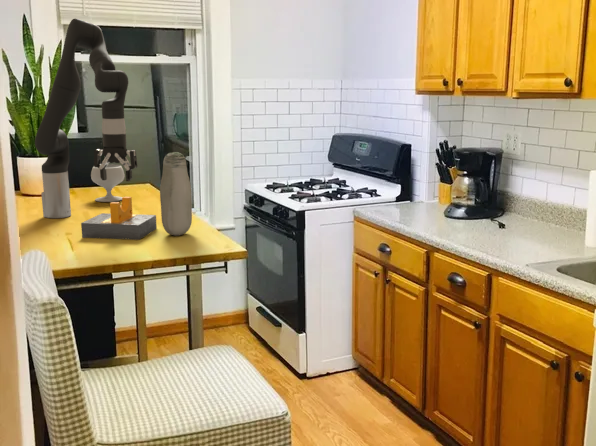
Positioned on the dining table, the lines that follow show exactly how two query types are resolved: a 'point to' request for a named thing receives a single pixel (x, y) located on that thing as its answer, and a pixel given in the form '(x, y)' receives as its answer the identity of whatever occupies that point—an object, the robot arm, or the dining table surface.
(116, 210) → the pipe clamp
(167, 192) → the grey bottle
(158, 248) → the dining table surface
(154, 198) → the dining table surface
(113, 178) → the chalice
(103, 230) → the steel riser
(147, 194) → the dining table surface
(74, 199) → the dining table surface
